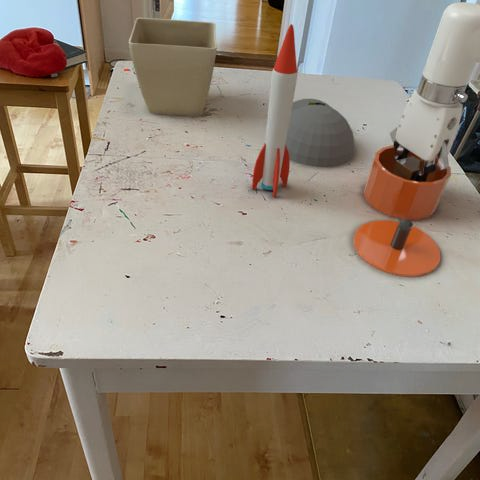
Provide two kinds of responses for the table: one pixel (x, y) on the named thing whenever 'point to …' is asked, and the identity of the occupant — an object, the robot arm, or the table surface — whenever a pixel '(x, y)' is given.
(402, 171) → the block
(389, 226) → the lid
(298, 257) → the table surface
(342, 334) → the table surface
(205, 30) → the flower pot
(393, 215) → the pot
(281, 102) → the toy rocket
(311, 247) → the table surface
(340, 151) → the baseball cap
